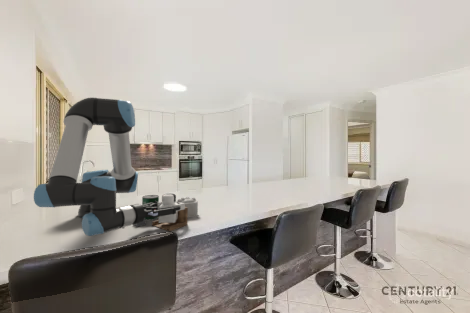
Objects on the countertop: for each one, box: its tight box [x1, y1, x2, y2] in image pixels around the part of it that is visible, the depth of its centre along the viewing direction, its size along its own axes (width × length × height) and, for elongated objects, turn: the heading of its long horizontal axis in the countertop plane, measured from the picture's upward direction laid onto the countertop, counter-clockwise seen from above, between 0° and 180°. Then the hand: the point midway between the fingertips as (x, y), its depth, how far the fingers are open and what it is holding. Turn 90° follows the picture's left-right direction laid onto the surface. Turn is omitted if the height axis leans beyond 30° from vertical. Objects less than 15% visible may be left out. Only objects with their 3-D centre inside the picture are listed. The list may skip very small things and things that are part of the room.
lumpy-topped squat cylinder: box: [176, 196, 199, 218], centre depth 117 cm, size 10×13×9 cm
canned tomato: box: [141, 194, 160, 221], centre depth 109 cm, size 8×8×11 cm
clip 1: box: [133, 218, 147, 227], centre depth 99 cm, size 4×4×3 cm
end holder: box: [151, 207, 189, 232], centre depth 98 cm, size 12×10×8 cm
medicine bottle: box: [159, 193, 178, 223], centre depth 98 cm, size 7×7×12 cm
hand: (176, 204), depth 101 cm, fingers closed on medicine bottle, 10 cm apart
